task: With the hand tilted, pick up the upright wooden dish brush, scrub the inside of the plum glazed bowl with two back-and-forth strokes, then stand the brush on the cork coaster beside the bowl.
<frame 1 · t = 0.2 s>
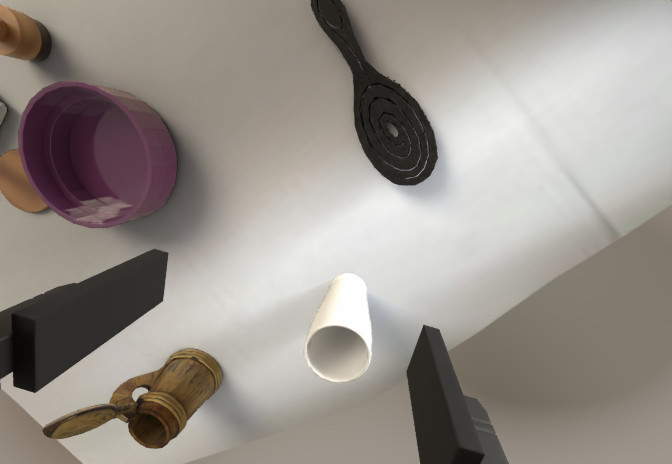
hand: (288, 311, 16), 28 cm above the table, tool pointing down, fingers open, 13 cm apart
hairbrush: (370, 89, 39), on the table
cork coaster: (28, 181, 47), on the table
bowl: (121, 157, 45), on the table
wooden mug: (185, 362, 52), on the table
dish brush: (33, 40, 42), on the table
white tumbler: (348, 289, 46), on the table
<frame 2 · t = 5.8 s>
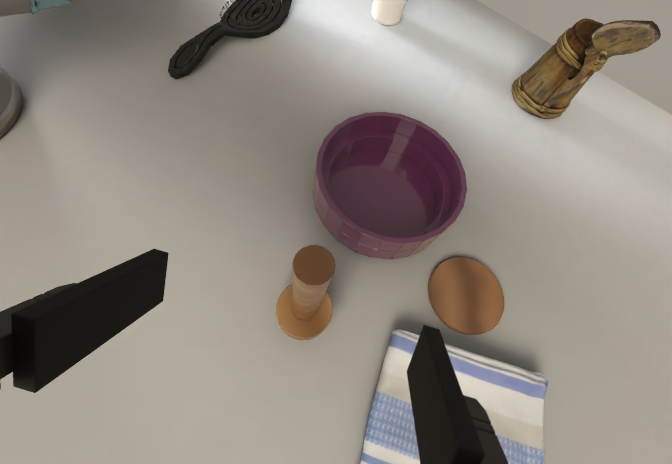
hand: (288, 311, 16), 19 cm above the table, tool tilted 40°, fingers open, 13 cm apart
hairbrush: (233, 35, 50), on the table
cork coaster: (464, 294, 38), on the table
bowl: (379, 197, 42), on the table
wooden mug: (535, 108, 52), on the table
dish brush: (303, 315, 35), on the table
white tumbler: (385, 18, 57), on the table
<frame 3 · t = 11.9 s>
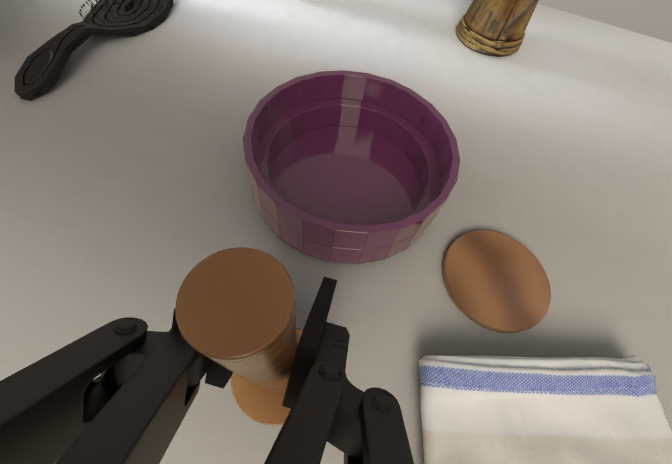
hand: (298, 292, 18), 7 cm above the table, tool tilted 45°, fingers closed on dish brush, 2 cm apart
hairbrush: (107, 37, 39), on the table
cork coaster: (493, 279, 28), on the table
bowl: (345, 184, 31), on the table
wooden mug: (488, 49, 45), on the table
dish brush: (282, 377, 22), on the table, touching gripper
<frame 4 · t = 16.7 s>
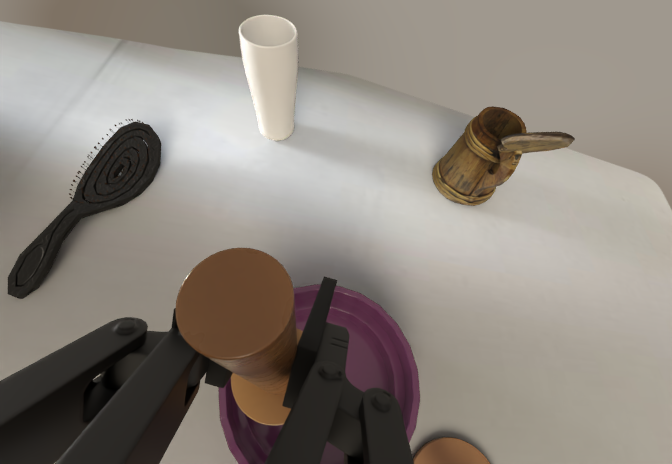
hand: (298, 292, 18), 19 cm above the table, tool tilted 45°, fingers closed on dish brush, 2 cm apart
hairbrush: (96, 208, 41), on the table
bowl: (318, 384, 33), on the table
wooden mug: (462, 194, 47), on the table
dish brush: (282, 378, 22), point 12 cm above the table, touching gripper
white tumbler: (277, 130, 50), on the table
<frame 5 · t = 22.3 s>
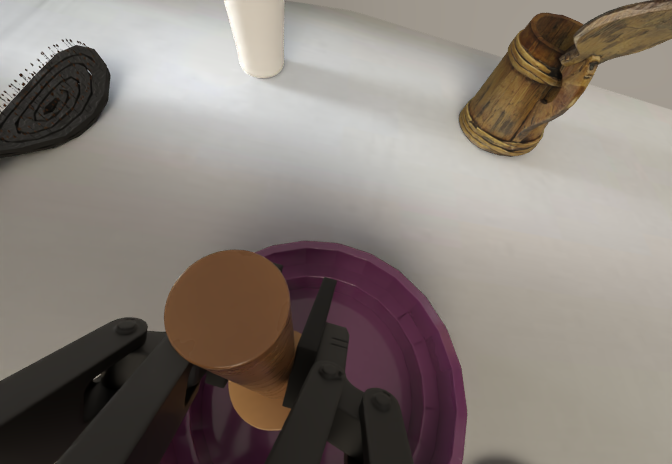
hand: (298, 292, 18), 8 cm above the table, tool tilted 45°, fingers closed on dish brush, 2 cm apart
hairbrush: (18, 151, 31), on the table
bowl: (309, 387, 23), on the table
wooden mug: (498, 144, 37), on the table
dish brush: (280, 381, 22), point 1 cm above the table, touching gripper
white tumbler: (262, 68, 40), on the table
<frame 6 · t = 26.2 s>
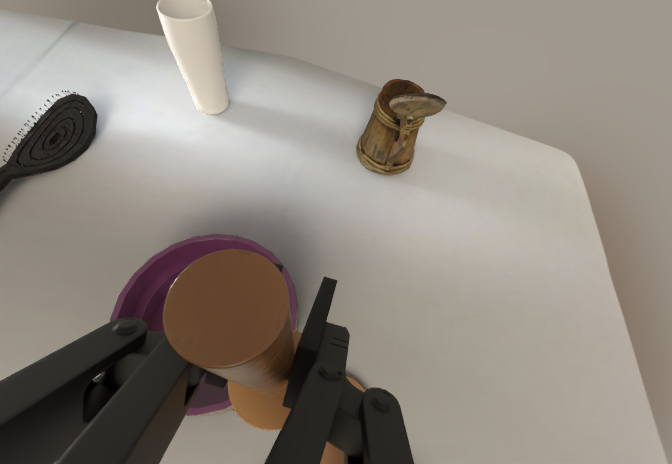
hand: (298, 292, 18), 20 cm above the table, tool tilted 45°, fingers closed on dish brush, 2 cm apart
hairbrush: (31, 172, 44), on the table
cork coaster: (332, 421, 33), on the table
bowl: (220, 326, 36), on the table
wooden mug: (383, 165, 51), on the table
dish brush: (280, 381, 22), point 14 cm above the table, touching gripper
white tumbler: (213, 106, 53), on the table
when the fingers open (7 cm above the table, at t = 30.6 s): dish brush stays where it is, resting on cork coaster.
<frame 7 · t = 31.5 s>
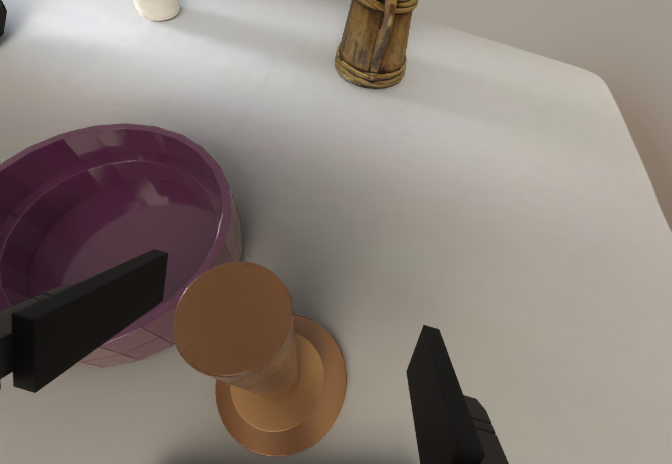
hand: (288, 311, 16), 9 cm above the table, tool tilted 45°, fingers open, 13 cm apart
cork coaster: (283, 379, 23), on the table
bowl: (136, 255, 26), on the table
wooden mug: (368, 79, 41), on the table
dish brush: (281, 383, 22), point 1 cm above the table, touching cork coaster
white tumbler: (160, 13, 43), on the table
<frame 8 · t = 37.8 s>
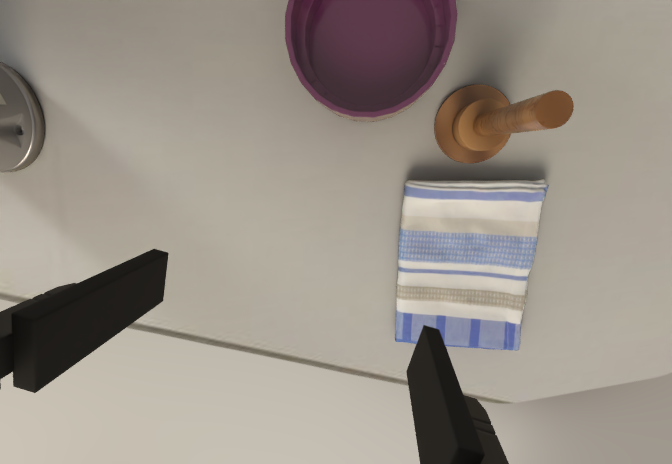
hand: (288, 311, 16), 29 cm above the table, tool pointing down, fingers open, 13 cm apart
dish towel: (461, 263, 44), on the table
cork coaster: (472, 125, 39), on the table
bowl: (369, 45, 38), on the table
dish brush: (473, 127, 39), point 1 cm above the table, touching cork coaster
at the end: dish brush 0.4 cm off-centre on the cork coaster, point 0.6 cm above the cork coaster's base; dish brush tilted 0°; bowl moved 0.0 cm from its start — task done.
